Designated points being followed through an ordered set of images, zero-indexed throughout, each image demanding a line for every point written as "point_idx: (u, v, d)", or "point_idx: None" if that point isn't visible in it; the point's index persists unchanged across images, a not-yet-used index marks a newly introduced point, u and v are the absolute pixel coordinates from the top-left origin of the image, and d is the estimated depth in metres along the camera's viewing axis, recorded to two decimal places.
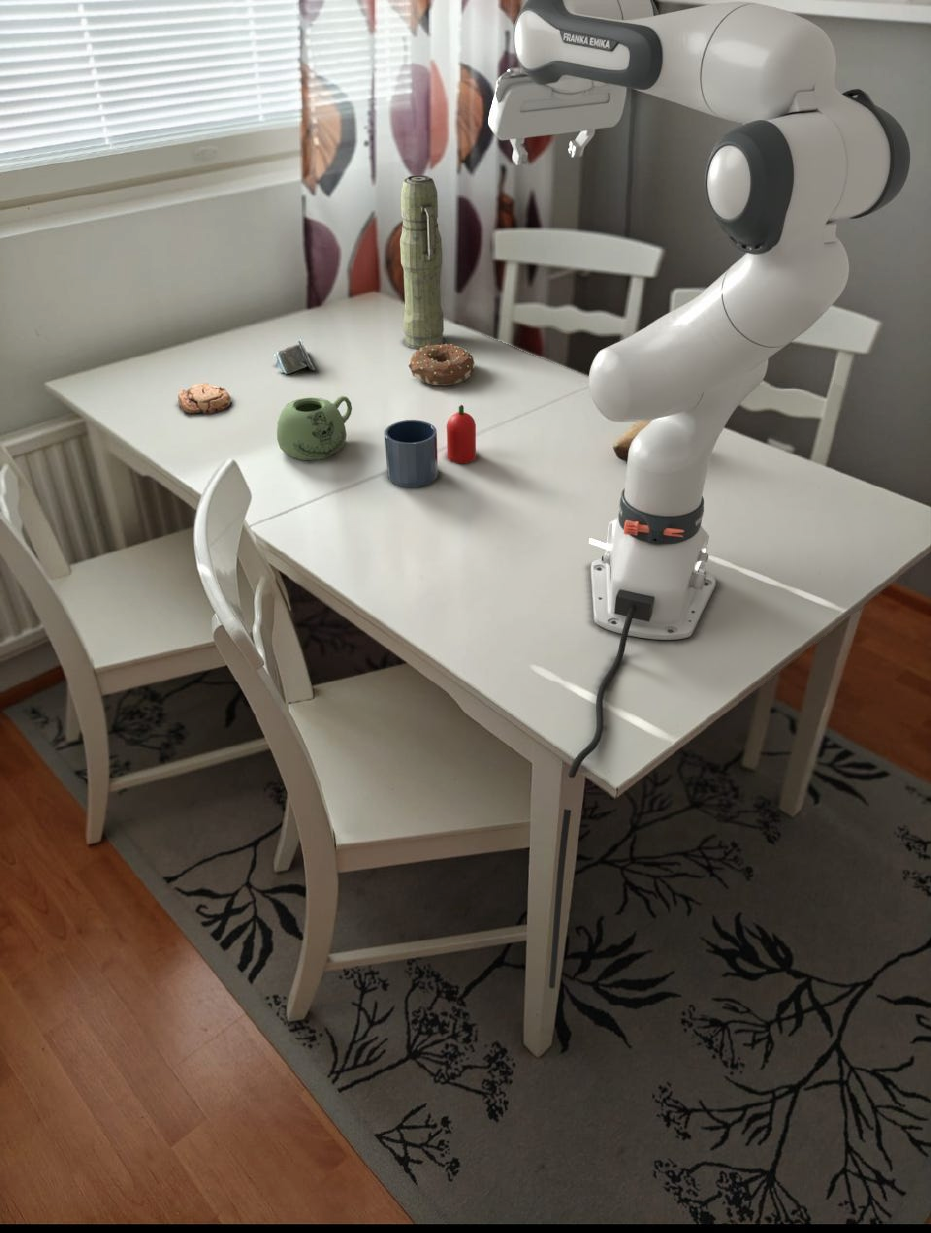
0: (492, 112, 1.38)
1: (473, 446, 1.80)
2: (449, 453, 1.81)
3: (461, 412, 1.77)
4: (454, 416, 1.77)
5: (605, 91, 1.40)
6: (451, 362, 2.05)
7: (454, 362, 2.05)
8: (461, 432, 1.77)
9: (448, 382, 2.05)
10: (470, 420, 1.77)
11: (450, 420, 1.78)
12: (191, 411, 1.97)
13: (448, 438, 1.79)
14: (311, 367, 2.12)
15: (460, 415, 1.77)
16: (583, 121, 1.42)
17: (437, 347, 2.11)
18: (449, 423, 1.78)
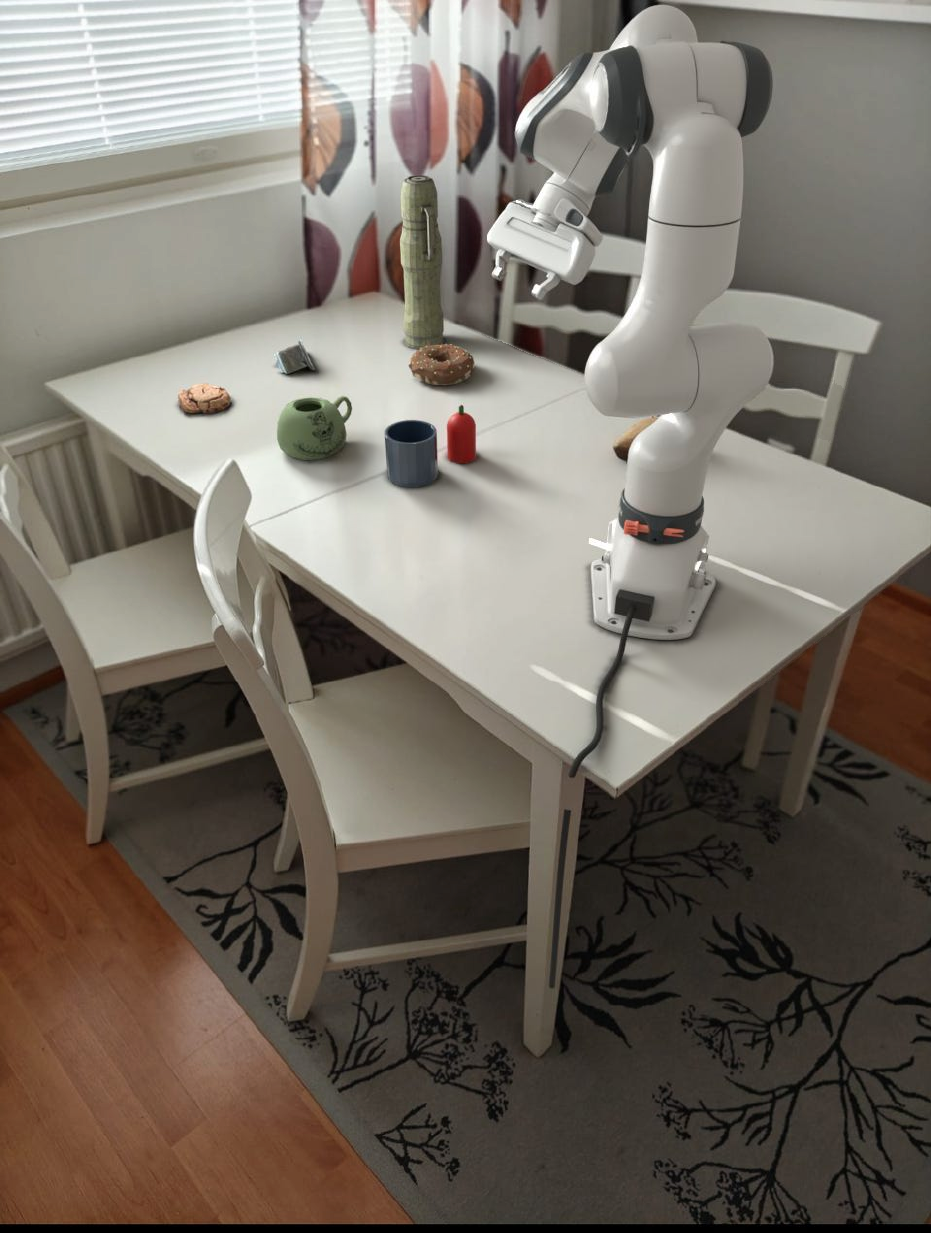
0: None
1: (473, 446, 1.80)
2: (449, 453, 1.81)
3: (461, 412, 1.77)
4: (454, 416, 1.77)
5: (568, 238, 1.64)
6: (451, 362, 2.05)
7: (454, 362, 2.05)
8: (461, 432, 1.77)
9: (448, 382, 2.05)
10: (470, 420, 1.77)
11: (450, 420, 1.78)
12: (191, 411, 1.97)
13: (448, 438, 1.79)
14: (311, 367, 2.12)
15: (460, 415, 1.77)
16: (545, 256, 1.66)
17: (437, 347, 2.11)
18: (449, 423, 1.78)
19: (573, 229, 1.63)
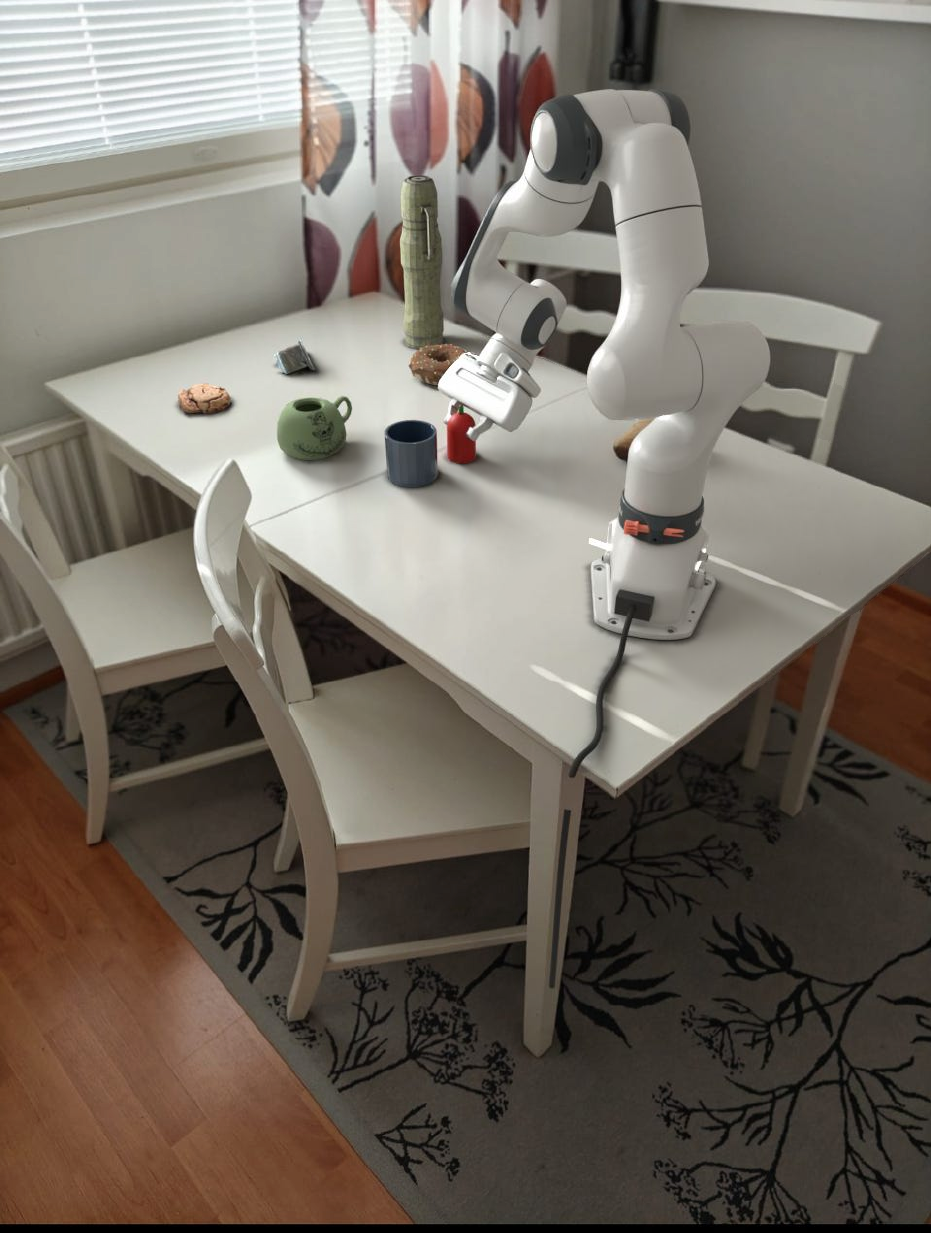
0: None
1: (473, 446, 1.80)
2: (449, 453, 1.81)
3: (461, 412, 1.77)
4: (454, 416, 1.77)
5: (506, 388, 1.73)
6: (451, 362, 2.05)
7: None
8: (461, 432, 1.77)
9: None
10: (470, 420, 1.77)
11: (450, 420, 1.78)
12: (191, 411, 1.97)
13: (448, 438, 1.79)
14: (311, 367, 2.12)
15: (460, 414, 1.77)
16: (484, 404, 1.75)
17: (437, 347, 2.11)
18: (449, 423, 1.78)
19: (510, 381, 1.72)
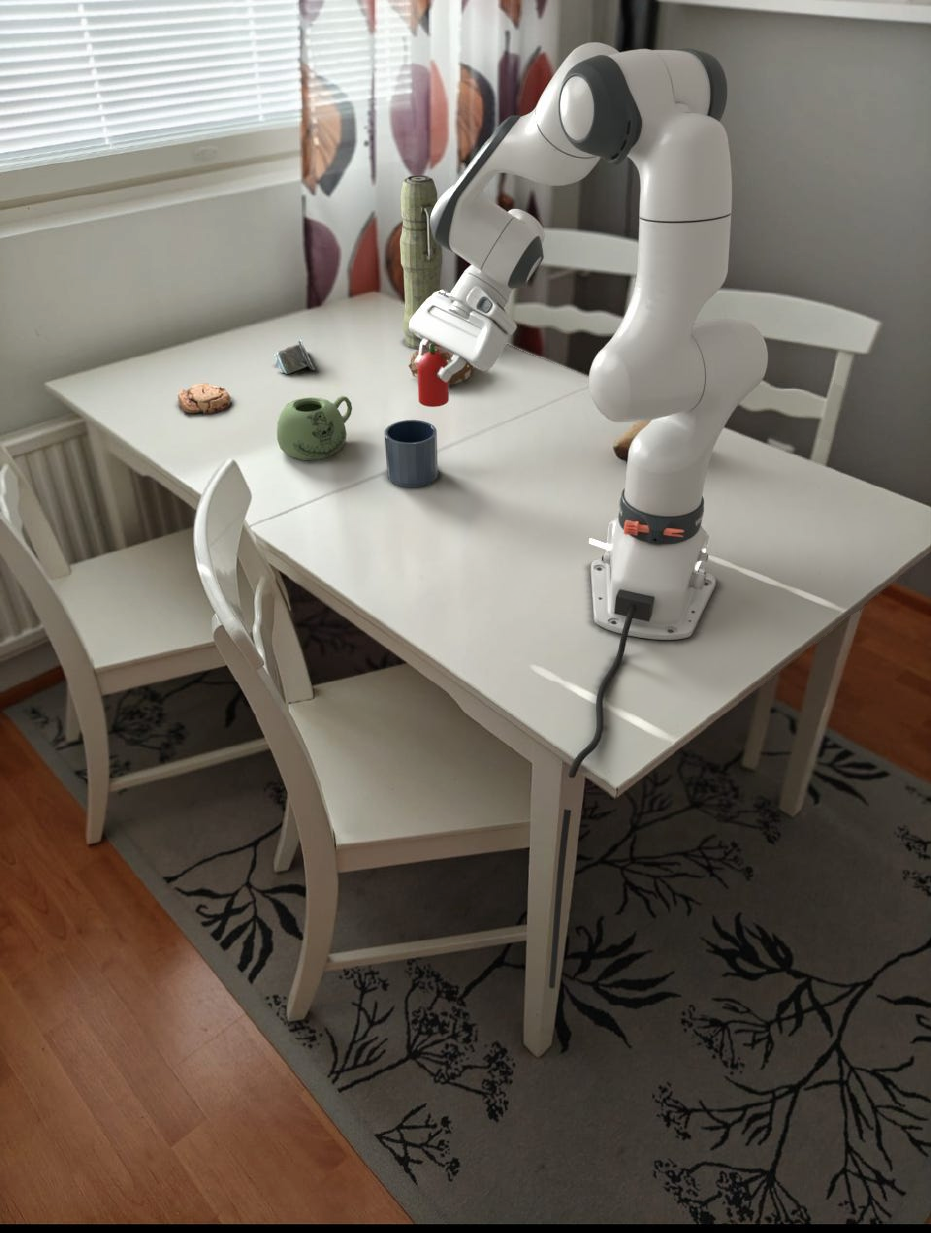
0: None
1: (445, 388, 1.69)
2: (420, 396, 1.70)
3: (432, 351, 1.66)
4: (425, 355, 1.67)
5: (479, 324, 1.62)
6: None
7: None
8: (432, 373, 1.66)
9: (448, 382, 2.05)
10: (441, 360, 1.67)
11: (420, 360, 1.67)
12: (191, 411, 1.97)
13: (419, 379, 1.69)
14: (311, 367, 2.12)
15: (431, 354, 1.66)
16: (456, 342, 1.64)
17: (437, 347, 2.11)
18: (419, 363, 1.67)
19: (483, 316, 1.61)
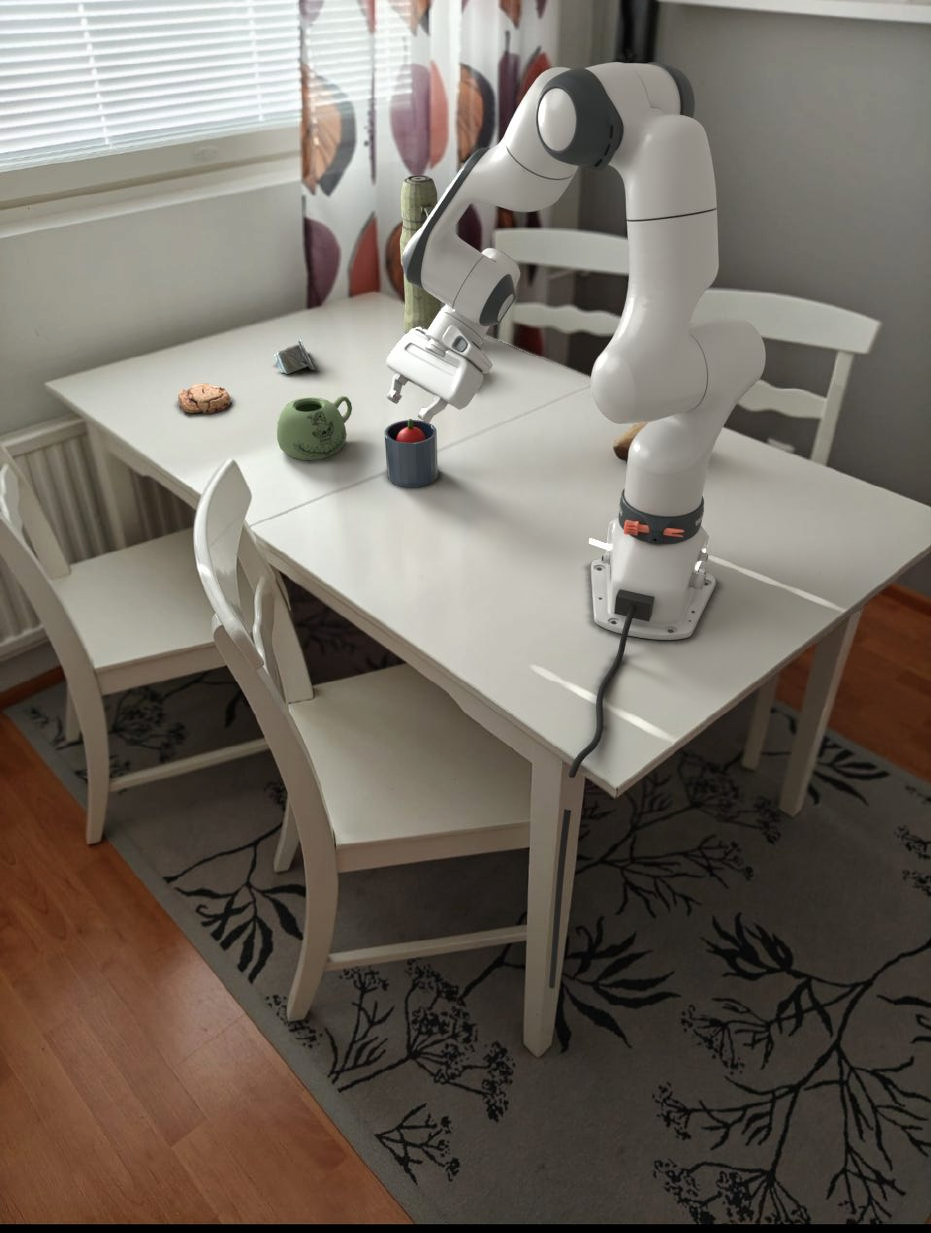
0: None
1: None
2: None
3: (410, 426, 1.71)
4: (403, 431, 1.72)
5: (454, 363, 1.63)
6: None
7: None
8: None
9: None
10: (420, 435, 1.72)
11: (399, 435, 1.72)
12: (191, 411, 1.97)
13: None
14: (311, 367, 2.12)
15: (410, 429, 1.72)
16: (432, 380, 1.65)
17: None
18: (398, 438, 1.72)
19: (458, 355, 1.62)
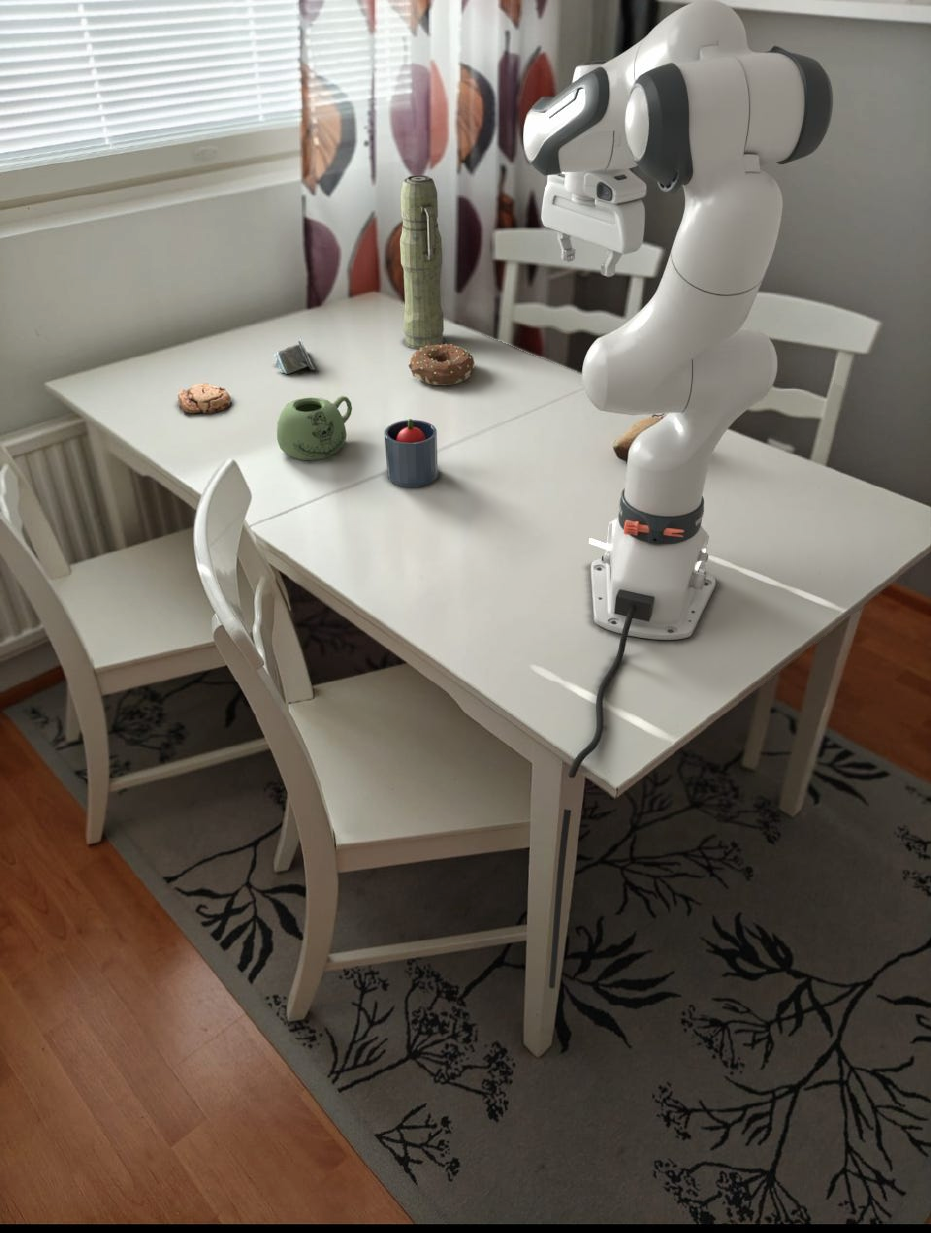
0: None
1: None
2: None
3: (410, 426, 1.71)
4: (403, 431, 1.72)
5: (609, 211, 1.51)
6: (451, 362, 2.05)
7: (454, 362, 2.05)
8: None
9: (448, 382, 2.05)
10: (420, 435, 1.72)
11: (399, 435, 1.72)
12: (191, 411, 1.97)
13: None
14: (311, 367, 2.12)
15: (410, 429, 1.72)
16: (597, 235, 1.55)
17: (437, 347, 2.11)
18: (398, 438, 1.72)
19: (609, 203, 1.50)
